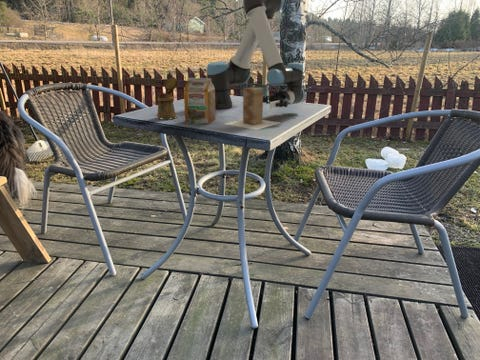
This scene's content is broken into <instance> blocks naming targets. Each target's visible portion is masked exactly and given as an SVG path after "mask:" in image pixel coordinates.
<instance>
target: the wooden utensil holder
mask: <svg viewBox="0 0 480 360" xmlns="http://www.w3.org/2000/svg"><path fill="white" fill-rule="evenodd" d="M177 86H178V80H177V79H176V77H175V76H171V77H169V78H168V79H167V80H166V81H165V84H164V87H165V89H166V92H165V93H163V92H162V93H158V95H157V114H156V118H157V117H158V118H163V119H170V118H175V117H176V118H177V114H176V111H175V106H174V97H173V90H175V89H176V87H177ZM176 118H175V119H176Z"/></svg>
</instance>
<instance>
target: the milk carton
mask: <svg viewBox="0 0 480 360" xmlns="http://www.w3.org/2000/svg"><path fill="white" fill-rule="evenodd" d="M183 99H184V100H183V102H184V118H185V123H191V124H190V125H211V124H212V123H213V122H214V121H216V109H215V88H214V85H213V84H212V82H211V79H210V78H207V77H206V78H205V77H204V78H202V77H188V78H187V81H186V85H185V86H184V89H183Z"/></svg>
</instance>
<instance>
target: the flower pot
mask: <svg viewBox="0 0 480 360" xmlns="http://www.w3.org/2000/svg"><path fill="white" fill-rule="evenodd" d="M252 87H256V88H263V96H266V95H267V96H269V95H268V94H269V88H270V84H254V85H252Z"/></svg>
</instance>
